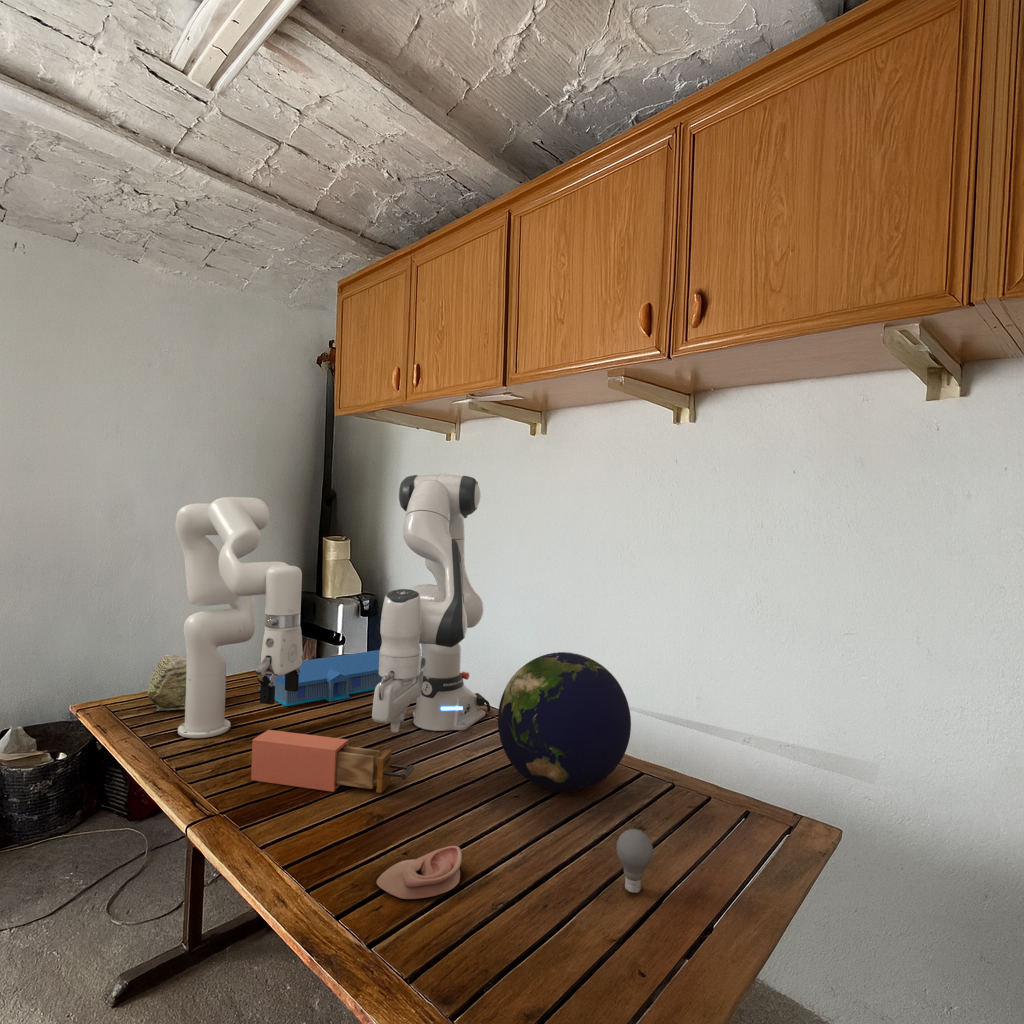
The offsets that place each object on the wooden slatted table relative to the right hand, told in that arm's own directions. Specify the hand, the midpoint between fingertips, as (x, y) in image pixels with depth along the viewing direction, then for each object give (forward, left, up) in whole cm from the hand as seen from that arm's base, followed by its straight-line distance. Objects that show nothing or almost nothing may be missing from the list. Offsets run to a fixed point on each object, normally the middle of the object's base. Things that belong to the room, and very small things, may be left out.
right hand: (397, 729), depth 137 cm
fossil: (-1, -85, -14) cm, 87 cm away
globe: (-26, +27, -14) cm, 40 cm away
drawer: (+3, -8, -13) cm, 16 cm away
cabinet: (+9, -21, -14) cm, 26 cm away
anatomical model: (+20, +25, -14) cm, 35 cm away
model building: (-41, -67, -14) cm, 80 cm away
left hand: (+11, -26, +4) cm, 28 cm away
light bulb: (+1, +55, -14) cm, 57 cm away
